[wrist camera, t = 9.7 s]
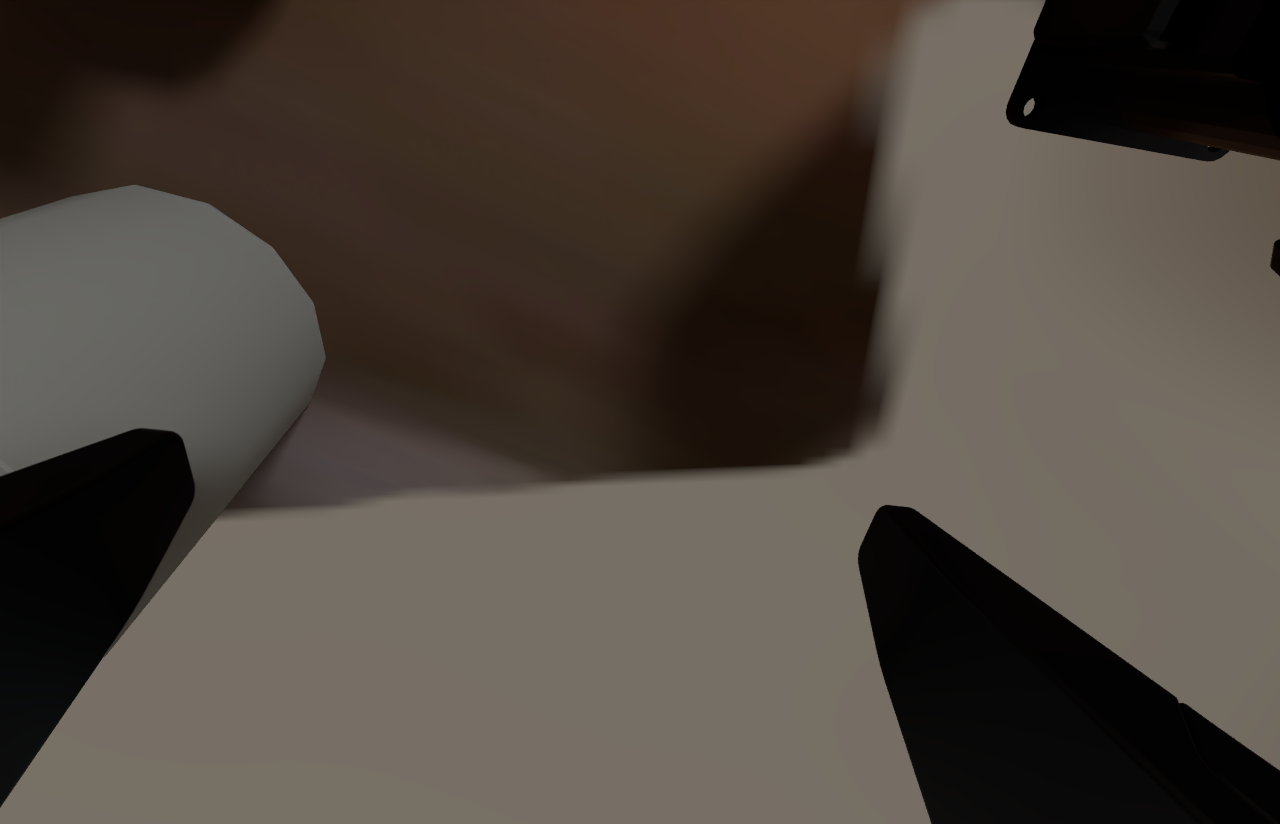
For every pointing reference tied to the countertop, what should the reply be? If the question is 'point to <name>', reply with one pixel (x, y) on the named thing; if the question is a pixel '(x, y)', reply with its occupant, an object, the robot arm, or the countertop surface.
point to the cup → (151, 340)
